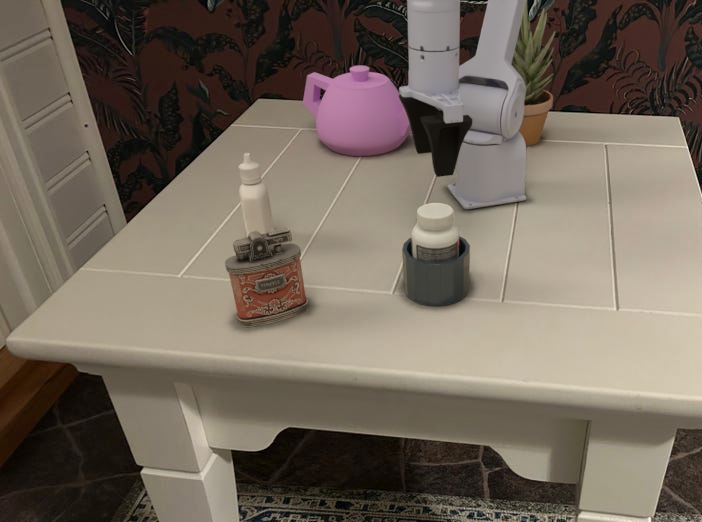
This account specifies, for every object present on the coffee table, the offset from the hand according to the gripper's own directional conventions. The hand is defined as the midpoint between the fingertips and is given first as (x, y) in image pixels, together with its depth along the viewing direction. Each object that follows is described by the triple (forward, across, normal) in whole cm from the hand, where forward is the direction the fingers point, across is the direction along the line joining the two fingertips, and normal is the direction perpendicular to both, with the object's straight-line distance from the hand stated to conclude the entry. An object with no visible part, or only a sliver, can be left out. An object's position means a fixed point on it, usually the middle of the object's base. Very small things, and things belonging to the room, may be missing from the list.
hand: (434, 163), depth 90 cm
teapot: (+10, -36, 0) cm, 38 cm away
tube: (+11, +11, -3) cm, 16 cm away
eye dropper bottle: (+11, -7, -21) cm, 25 cm away
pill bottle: (+10, +12, -4) cm, 16 cm away
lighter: (+11, +10, -22) cm, 27 cm away
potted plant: (+10, -28, +24) cm, 39 cm away
